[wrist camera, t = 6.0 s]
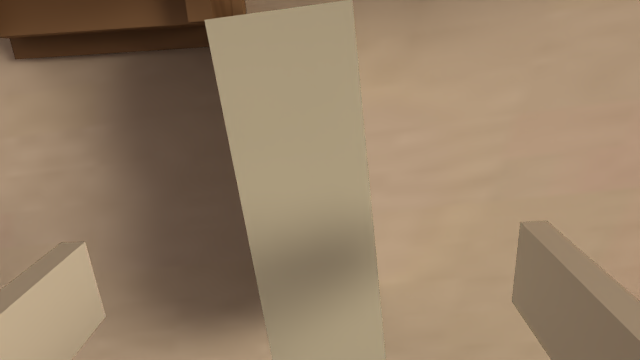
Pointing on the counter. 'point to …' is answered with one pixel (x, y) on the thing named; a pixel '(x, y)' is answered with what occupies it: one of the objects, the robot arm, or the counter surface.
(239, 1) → the brown wooden frame
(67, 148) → the counter surface
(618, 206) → the counter surface
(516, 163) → the counter surface
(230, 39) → the clay bar
